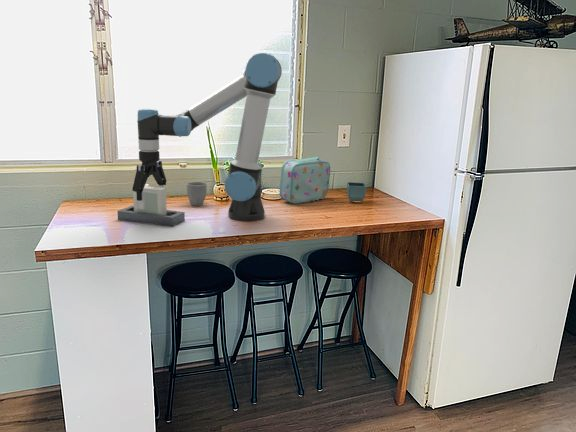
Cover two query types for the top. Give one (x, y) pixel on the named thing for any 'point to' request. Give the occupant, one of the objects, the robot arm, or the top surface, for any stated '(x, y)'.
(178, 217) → the grey rectangular tray
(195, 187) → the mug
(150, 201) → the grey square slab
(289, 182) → the lunch box
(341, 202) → the top surface
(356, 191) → the flower pot
